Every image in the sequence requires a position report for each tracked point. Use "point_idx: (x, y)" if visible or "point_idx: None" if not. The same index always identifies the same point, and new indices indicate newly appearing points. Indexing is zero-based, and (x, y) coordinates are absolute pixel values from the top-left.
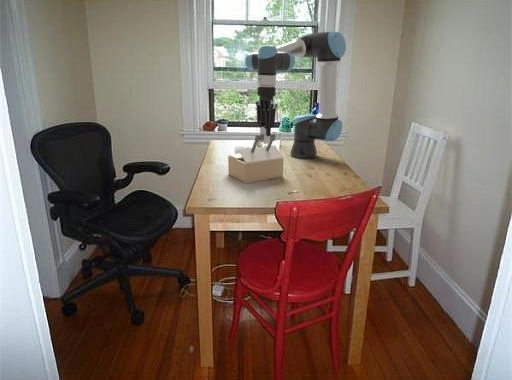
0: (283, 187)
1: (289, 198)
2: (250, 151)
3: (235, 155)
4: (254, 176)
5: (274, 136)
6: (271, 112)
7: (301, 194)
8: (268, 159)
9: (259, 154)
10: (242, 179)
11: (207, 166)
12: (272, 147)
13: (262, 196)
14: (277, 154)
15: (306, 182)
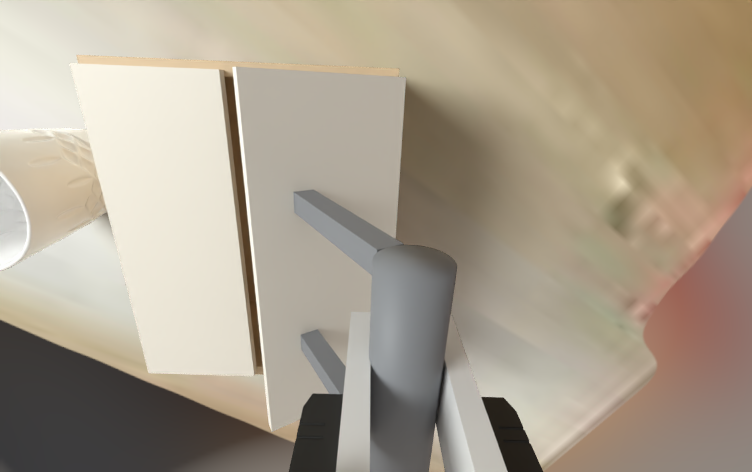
0: (538, 194)
1: (660, 262)
2: (300, 351)
3: (184, 351)
4: None
5: (453, 284)
6: None
7: (672, 185)
8: (394, 227)
9: (340, 287)
10: None
11: (18, 318)
12: (270, 123)
13: (560, 332)
14: (368, 119)
15: (567, 12)
